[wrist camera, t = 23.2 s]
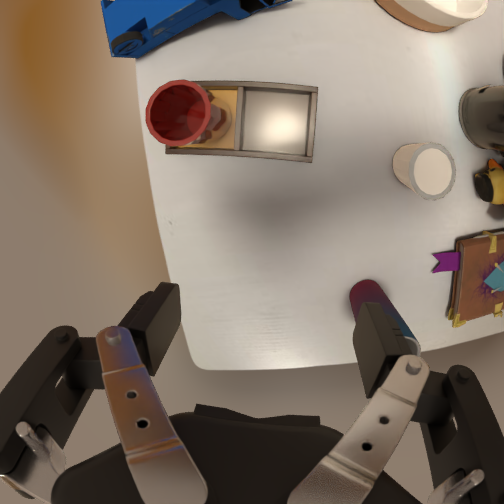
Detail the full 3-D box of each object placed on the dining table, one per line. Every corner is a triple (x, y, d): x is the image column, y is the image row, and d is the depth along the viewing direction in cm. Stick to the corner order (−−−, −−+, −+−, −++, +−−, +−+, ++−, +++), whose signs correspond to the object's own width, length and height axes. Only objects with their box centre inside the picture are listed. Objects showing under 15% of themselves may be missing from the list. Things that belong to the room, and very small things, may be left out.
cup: (389, 274, 41) (428, 334, 27) (381, 312, 44) (410, 378, 30) (347, 273, 42) (373, 337, 28) (340, 312, 44) (359, 382, 30)
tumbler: (242, 118, 34) (225, 109, 23) (207, 152, 36) (177, 159, 25) (208, 86, 33) (177, 67, 22) (175, 120, 35) (133, 117, 24)
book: (429, 238, 39) (444, 248, 34) (530, 221, 35) (546, 228, 30) (424, 328, 44) (434, 344, 39) (519, 299, 40) (532, 311, 35)
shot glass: (401, 198, 37) (422, 210, 30) (379, 153, 35) (399, 157, 28) (437, 176, 35) (463, 185, 28) (418, 132, 33) (443, 133, 27)
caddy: (178, 86, 34) (168, 82, 31) (314, 91, 33) (318, 87, 30) (174, 152, 37) (165, 154, 34) (309, 160, 36) (312, 162, 33)
